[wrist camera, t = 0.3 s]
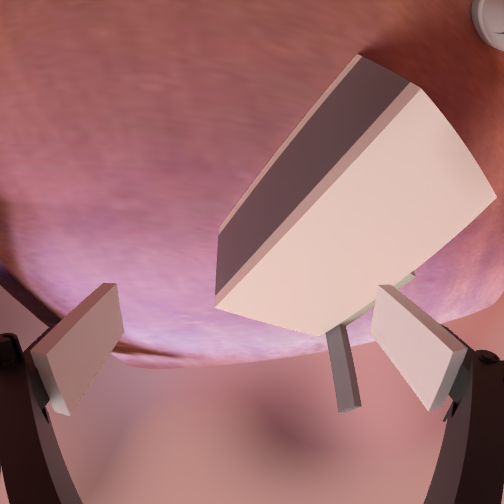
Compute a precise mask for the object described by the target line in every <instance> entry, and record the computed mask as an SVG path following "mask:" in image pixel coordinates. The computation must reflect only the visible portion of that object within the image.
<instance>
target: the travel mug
mask: <svg viewBox="0 0 504 504" xmlns="http://www.w3.org/2000/svg"><path fill="white" fill-rule="evenodd" d="M471 14H472V20H473V24H474V26H475V29H476V31H477V33H478V34H479V36H480V37H481V39H482V40H483V41H484V42H485V43H486V44H488V45H489V46H491V47H493V48H496V49H498V50H500V51H503V52H504V0H473V2H472V6H471Z"/></svg>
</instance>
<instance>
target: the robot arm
mask: <svg viewBox="0 0 504 504" xmlns="http://www.w3.org/2000/svg"><path fill="white" fill-rule="evenodd" d="M123 333H124V328H123V323H122V317H121V311H120V305H119V298H118V291H117V284H115V283H103V284H102V285H100V286H99V287H98V288H97V289H96V290H95V291H94V292H92V293H91V294H90V295H89V296H88V297H87V298H86V299H85V300H83V301H82V302H81V303H80V304H79V305H78V306H77V307H76V308H75V309H73V310H72V311H71V312H70V313H69V314H68V315H67V316H66V317H65V318H64V319H63V320H61V321H60V322H59V323H58V324H56V325H54V326H52V327H50V328H48V329H47V330H46V331H45V332H44V333H43V334H42V336H40V337H38V338H37V340H36V341H34V342H33V343H32V344H31V345H30V346H29V347H28V348H27V349H26V350H25V351H24V352H22V349H21V346H20V344H19V340H18V338H17V336H16V335H15V334H13V333H3V334H0V472H1V467H2V472H3V477H4V482H5V487H6V491H7V495H8V499H9V503H10V504H83V503H82V501H81V499H80V497H79V495H78V493H77V491H76V489H75V486H74V484H73V482H72V480H71V477H70V475H69V472H68V470H67V467H66V465H65V462H64V460H63V457H62V454H61V451H60V448H59V446H58V443H57V440H56V437H55V434H54V431H53V427H52V424H51V421H50V417H49V413H48V411H47V409H46V407H45V406H46V404H47V403H48V402H49V400H50V402H51V404H52V406H53V409H54V410H55V412H58V413H61V414H65V415H68V416H71V415H72V413H73V412H74V410H75V408H76V407H77V405H78V403H79V402H80V400H81V399H82V396H83V395H84V393H85V392H86V390H87V389H88V387H89V386H90V384H91V382H92V381H93V379H94V378H95V376H96V374H97V373H98V371H99V370H100V368H101V367H102V365H103V364H104V362H105V360H106V359H107V357H108V356H109V354H110V353H111V351H112V350H113V348H114V347H115V345H116V344H117V342H118V341H119V339H120V338H121V336H122V335H123ZM370 333H371V335H372V336H373V337H374V339H375V340H376V341H377V343H378V344H379V345H380V346H381V348H382V349H383V350H384V351H385V353H386V354H387V356H388V357H389V358H390V360H391V361H392V362H393V364H394V365H395V366H396V368H397V369H398V370H399V372H400V373H401V374H402V376H403V377H404V378H405V380H406V381H407V382H408V384H409V385H410V387H411V388H412V389H413V391H414V392H415V393H416V395H417V396H418V398H419V399H420V400H421V402H422V403H423V405H424V406H425V407H426V409H427V410H428V411H431V410H435V409H438V408H441V407H443V406H444V404H445V402H446V399H447V397H448V395H449V396H450V397H451V398H452V399H453V402H452V404H451V406H450V408H449V410H448V412H447V414H446V416H445V418H444V419H443V421H444V422H445V421H446V419H447V418H448V419H447V424H446V429H445V434H444V438H443V442H442V446H441V450H440V454H439V458H438V461H437V465H436V469H435V472H434V475H433V478H432V481H431V485H430V488H429V490H428V493H427V496H426V499H425V501H424V504H501V500H502V493H503V484H504V361H500V359H499V357H498V356H497V355H496V354H494V353H492V352H490V351H487V350H477V351H474V350H473V349H471V348H470V347H469V346H468V345H467V344H466V343H465V342H463V341H462V340H461V339H459V337H458V336H456V335H455V334H453V332H452V331H451V330H449V329H448V328H447V327H445V326H443V325H441V324H439V323H438V322H436V321H435V320H434V319H433V318H432V317H430V316H429V315H428V314H427V313H426V312H424V311H423V310H422V309H421V308H420V307H418V306H417V305H416V304H415V303H413V302H412V301H411V300H410V299H408V298H407V297H406V296H405V295H403V294H402V293H401V292H400V291H398V290H397V289H396V288H395V287H393V286H392V285H391V284H388V285H378V289H377V295H376V301H375V306H374V312H373V317H372V322H371V327H370Z"/></svg>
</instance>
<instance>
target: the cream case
mask: <svg viewBox="0 0 504 504" xmlns="http://www.w3.org/2000/svg"><path fill="white" fill-rule="evenodd" d="M496 198H497V197H496V195H495V193H494V191H493V189H492V187H491V186H490V184H489V182H488V180H487V179H486V177H485V175H484V174H483V172H482V170H481V169H480V167H479V165H478V164H477V162H476V161H475V159H474V157H473V156H472V154H471V153H470V151H469V150H468V148H467V147H466V145H465V144H464V142H463V141H462V140H461V138H460V137H459V135H458V134H457V133H456V131H455V130H454V128H453V127H452V126H451V124H450V123H449V122H448V120H447V119H446V118H445V117H444V115H443V114H442V113H441V111H440V110H439V109H438V108H437V106H436V105H435V104H434V103H433V102H432V100H431V99H430V98H429V97H428V96H427V95H426V93H425V92H424V91H423V90H422V89H421V88H420V87H418V86H416V85H415V84H413V83H411V82H410V81H408V80H406V79H405V78H403V77H401V76H399V75H398V74H396V73H394V72H392V71H390V70H388V69H387V68H385V67H383V66H381V65H379V64H377V63H375V62H373V61H371V60H369V59H367V58H365V57H363V56H360V55H358V54H356V56H355V57H354V58H353V59H352V60H351V61H350V63H349V64H348V65H347V66H346V67H345V68H344V70H343V71H342V72H341V73H340V74H339V75H338V77H337V78H336V79H335V80H334V81H333V83H332V84H331V85H330V86H329V87H328V88H327V90H326V91H325V92H324V93H323V95H322V96H321V97H320V98H319V99H318V101H317V102H316V103H315V104H314V105H313V107H312V108H311V109H310V110H309V112H308V113H307V114H306V115H305V116H304V118H303V119H302V120H301V121H300V123H299V124H298V125H297V126H296V128H295V129H294V130H293V131H292V133H291V134H290V135H289V136H288V138H287V139H286V140H285V141H284V143H283V144H282V145H281V147H280V148H279V149H278V150H277V152H276V153H275V154H274V155H273V157H272V158H271V159H270V161H269V162H268V163H267V164H266V166H265V167H264V168H263V170H262V171H261V172H260V174H259V175H258V176H257V177H256V179H255V180H254V181H253V183H252V184H251V185H250V187H249V188H248V189H247V191H246V192H245V193H244V195H243V196H242V197H241V199H240V200H239V201H238V203H237V204H236V205H235V207H234V208H233V209H232V211H231V212H230V213H229V215H228V216H227V217H226V219H225V220H224V222H223V223H222V224H221V226H220V227H219V235H218V251H217V269H216V288H215V308H217V309H220V310H223V311H227V312H230V313H233V314H237V315H240V316H243V317H247V318H250V319H254V320H257V321H261V322H264V323H268V324H272V325H275V326H279V327H283V328H286V329H290V330H294V331H298V332H302V333H306V334H309V335H313V336H317V337H320V336H321V335H323V334H324V333H326V332H328V331H329V330H331V329H332V328H334V327H335V326H337V325H338V324H340V323H341V322H343V321H344V320H346V319H347V318H349V317H350V316H352V315H353V314H355V313H356V312H358V311H359V310H361V309H362V308H364V307H365V306H366V305H368V304H369V303H371V302H372V301H374V300H375V299H376V295H377V289H378V285H388V284H391V285H392V286H394V285H395V284H397V283H398V282H399V281H401V280H402V279H403V278H405V277H406V276H407V275H409V274H410V273H411V272H412V271H414V270H415V269H416V268H418V267H419V266H420V265H421V264H423V263H424V262H425V261H426V260H428V259H429V258H430V257H431V256H432V255H434V254H435V253H436V252H437V251H438V250H440V249H441V248H442V247H443V246H444V245H446V244H447V243H448V242H449V241H450V240H451V239H453V238H454V237H455V236H456V235H457V234H458V233H459V232H461V231H462V230H463V229H464V228H465V227H466V226H467V225H468V224H469V223H470V222H472V221H473V220H474V219H475V218H476V217H477V216H478V215H479V214H480V213H481V212H482V211H483V210H484V209H485V208H486V207H487V206H488V205H490V204H491V203H492V202H493V201H494V200H495V199H496Z"/></svg>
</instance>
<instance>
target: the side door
mask: <svg viewBox="0 0 504 504" xmlns="http://www.w3.org/2000/svg"><path fill="white" fill-rule="evenodd" d="M415 277H416V276H415V273H414V271H412V272H411V273H410V274H409V275H407V276H406V277H405V278H403V279H402V280H401V281H399V282H398V283H397V284H395V285H394V286H393V287H395V288H396V289H397V290H399V289H400V288H402V287H403V286H404V285H406V284H407V283H408V282H410V281H411V280H412V279H413V278H415ZM375 301H376V299H375V300H374V301H372V302H371V303H369V304H368V305H366V306H365V307H364V308H362V309H361V310H359V311H358V312H356V313H355V314H353V315H352V316H350V317H349V318H347V319H346V320H344V321H343V322H341V323H340V324H338V325H337V326H335V327H334V328H332V329H331V330H329V331H328V332H326V338H327V343H328V349H329V355H330V361H331V367H332V372H333V379H334V385H335V392H336V398H337V405H338V412H347V411H350V410H353V409H356V408H358V407H361V400H360V395H359V389H358V384H357V378H356V374H355V368H354V363H353V358H352V353H351V348H350V344H349V339H348V334H347V330H346V326H347V325H348V324H350V323H351V322H353V321H354V320H356V319H357V318H359V317H360V316H362V315H363V314H365V313H366V312H368V311H369V310H371V309H372V308H374V306H375Z"/></svg>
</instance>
